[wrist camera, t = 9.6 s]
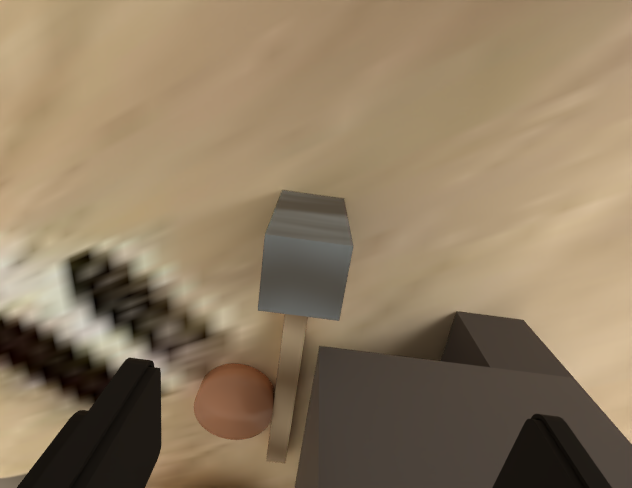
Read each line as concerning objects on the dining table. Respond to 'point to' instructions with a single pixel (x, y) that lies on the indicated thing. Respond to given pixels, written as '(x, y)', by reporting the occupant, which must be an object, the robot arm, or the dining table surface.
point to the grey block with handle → (301, 287)
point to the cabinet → (445, 412)
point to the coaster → (235, 402)
